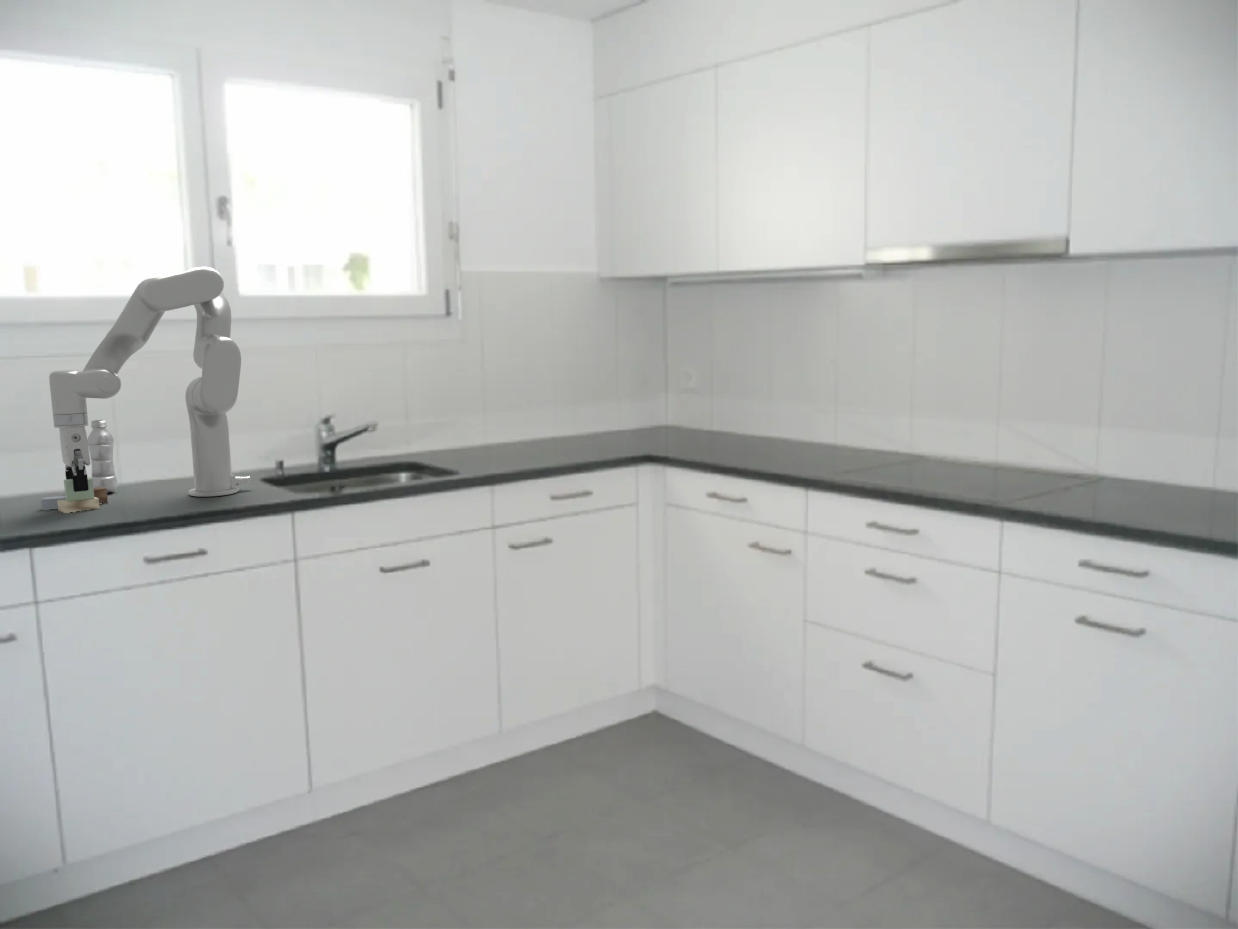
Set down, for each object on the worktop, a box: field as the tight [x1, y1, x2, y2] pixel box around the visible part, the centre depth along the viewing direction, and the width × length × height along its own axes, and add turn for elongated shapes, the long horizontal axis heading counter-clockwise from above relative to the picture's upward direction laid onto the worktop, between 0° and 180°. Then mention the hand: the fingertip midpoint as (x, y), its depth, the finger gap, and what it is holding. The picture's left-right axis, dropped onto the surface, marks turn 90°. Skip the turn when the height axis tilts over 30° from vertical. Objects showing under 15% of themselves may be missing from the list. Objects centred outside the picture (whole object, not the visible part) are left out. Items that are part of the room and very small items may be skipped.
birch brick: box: [57, 497, 101, 514], centre depth 250 cm, size 8×5×3 cm, turn 137°
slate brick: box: [40, 495, 66, 511], centre depth 252 cm, size 6×4×3 cm, turn 101°
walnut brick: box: [93, 487, 109, 505], centre depth 258 cm, size 5×4×4 cm
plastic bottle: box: [87, 419, 118, 494], centre depth 272 cm, size 6×7×20 cm
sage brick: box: [63, 476, 94, 501], centre depth 250 cm, size 6×4×5 cm, turn 125°
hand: (77, 488), depth 250 cm, fingers open, 9 cm apart
